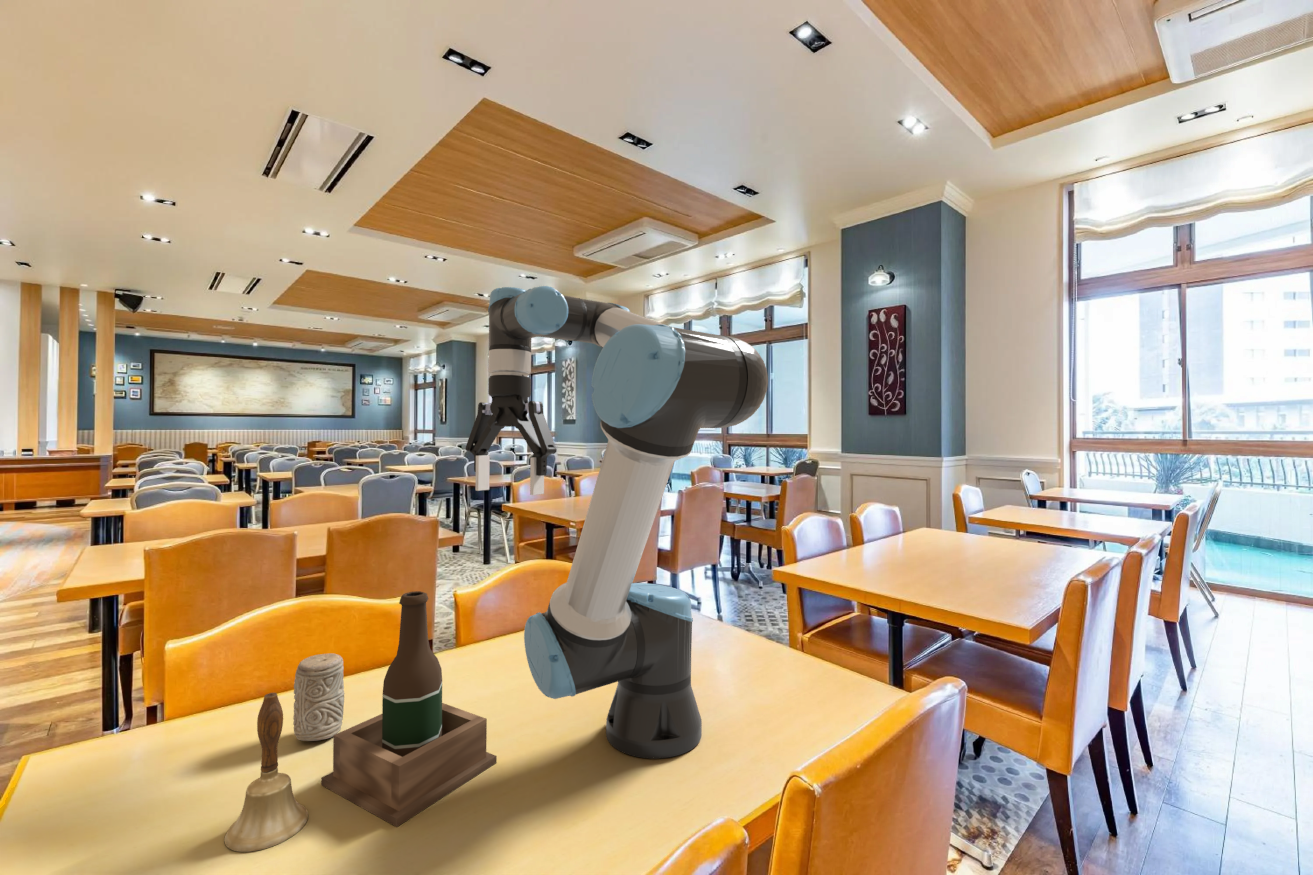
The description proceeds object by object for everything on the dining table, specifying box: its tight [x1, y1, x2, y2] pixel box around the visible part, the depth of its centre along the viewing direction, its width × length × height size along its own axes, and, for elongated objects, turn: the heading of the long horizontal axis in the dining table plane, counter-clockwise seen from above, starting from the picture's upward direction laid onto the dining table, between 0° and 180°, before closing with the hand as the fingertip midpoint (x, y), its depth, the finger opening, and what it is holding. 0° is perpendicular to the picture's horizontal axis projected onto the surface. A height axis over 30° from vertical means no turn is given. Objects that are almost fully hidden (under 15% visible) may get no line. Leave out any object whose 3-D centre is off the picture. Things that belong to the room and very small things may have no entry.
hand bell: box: [224, 692, 309, 853], centre depth 69 cm, size 8×8×16 cm
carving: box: [292, 652, 345, 742], centre depth 90 cm, size 6×8×12 cm
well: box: [320, 702, 497, 828], centre depth 80 cm, size 16×16×6 cm
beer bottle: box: [381, 590, 443, 757], centre depth 80 cm, size 8×8×24 cm
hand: (508, 492), depth 105 cm, fingers open, 13 cm apart
